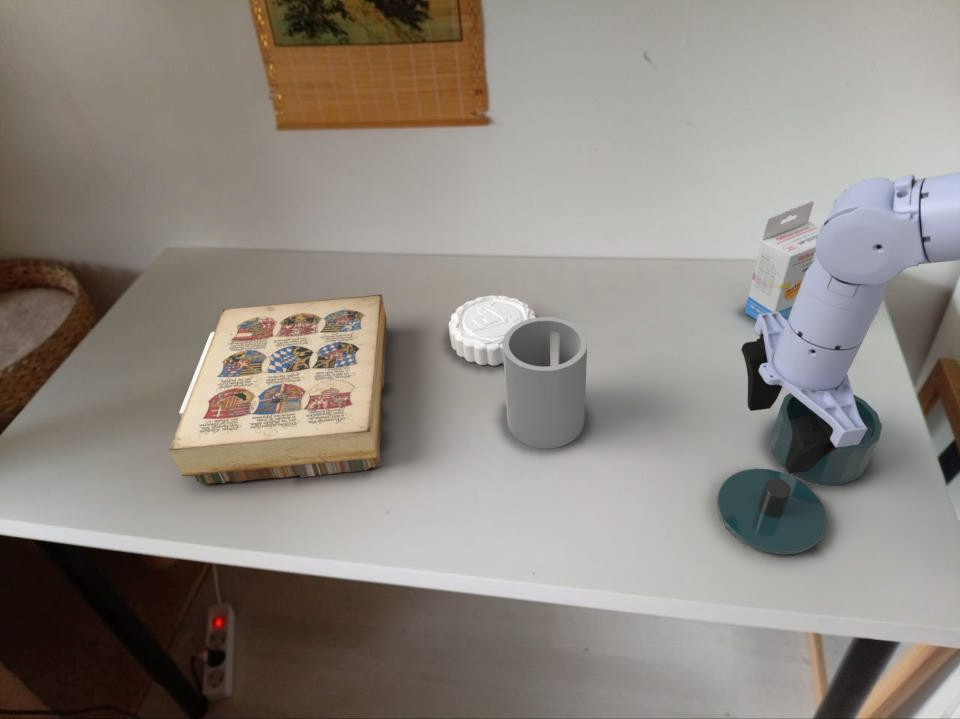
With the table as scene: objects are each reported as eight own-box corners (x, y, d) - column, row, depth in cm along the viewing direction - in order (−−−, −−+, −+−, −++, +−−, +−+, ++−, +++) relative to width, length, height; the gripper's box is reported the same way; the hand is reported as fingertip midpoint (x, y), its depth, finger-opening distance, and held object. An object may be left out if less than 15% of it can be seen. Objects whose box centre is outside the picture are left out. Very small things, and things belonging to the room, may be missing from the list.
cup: (516, 454, 78) (512, 377, 70) (501, 400, 85) (495, 324, 77) (593, 440, 78) (597, 362, 71) (572, 388, 85) (574, 311, 77)
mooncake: (519, 304, 99) (518, 283, 97) (551, 353, 91) (550, 332, 88) (440, 324, 97) (437, 303, 95) (465, 376, 88) (462, 355, 86)
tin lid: (845, 543, 66) (858, 516, 63) (749, 569, 65) (758, 543, 62) (785, 465, 74) (794, 439, 71) (698, 487, 72) (704, 461, 70)
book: (220, 339, 99) (163, 491, 77) (205, 303, 95) (141, 453, 73) (389, 323, 99) (379, 470, 77) (382, 286, 95) (370, 432, 73)
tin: (885, 473, 72) (902, 438, 69) (803, 494, 71) (816, 460, 67) (829, 411, 79) (842, 377, 76) (754, 429, 78) (763, 396, 74)
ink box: (771, 331, 91) (796, 235, 81) (743, 312, 94) (764, 218, 85) (816, 310, 94) (846, 214, 84) (787, 292, 97) (813, 198, 87)
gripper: (739, 278, 59) (705, 387, 69) (827, 397, 49) (773, 507, 58) (815, 270, 60) (771, 379, 69) (917, 385, 50) (849, 495, 59)
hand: (777, 437), depth 64 cm, fingers open, 7 cm apart
